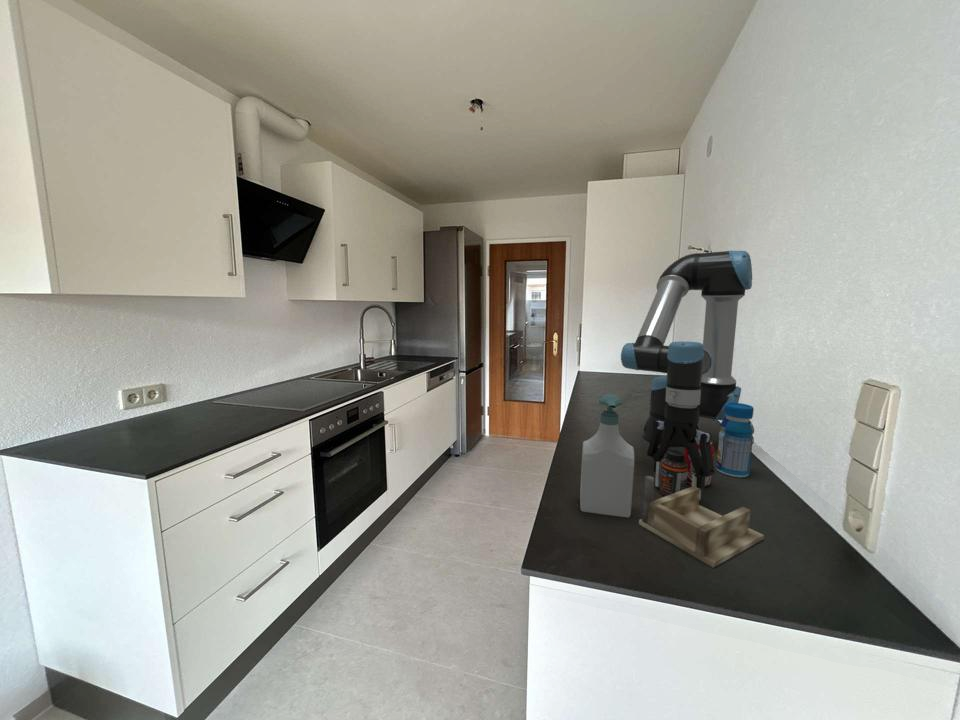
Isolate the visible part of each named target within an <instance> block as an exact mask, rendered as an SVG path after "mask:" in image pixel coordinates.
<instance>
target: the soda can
mask: <svg viewBox="0 0 960 720" xmlns="http://www.w3.org/2000/svg"><path fill="white" fill-rule="evenodd" d="M695 439H696V442H697V448H698V451H699V453H700V456H701V452H700V446H699V442H700V441H699V440H698V436H696V437H695ZM689 443H691V442H689ZM710 444H711V451H712V457H713V463H714V461H715V460H714V459H715V448H714V445H713V441H712V440H711V442H710ZM683 453H684V454H685V458H684V460H685V461H686V462H687V464H688V472H687V481H686V484H687V483H688V484H689V485H691V486H692V475H694V474H696V473H695V470H694V468H693V465H692V462H691V460H690V457H689V454H688V451H687V449H686V448H685V447H684V449H683ZM712 476H713V475H711V476H708V477H705V487H707V486H709V485H711V483H712Z"/></svg>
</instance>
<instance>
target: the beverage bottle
mask: <svg viewBox="0 0 960 720" xmlns="http://www.w3.org/2000/svg"><path fill="white" fill-rule="evenodd" d="M754 412H755V411H754V406H752V405H750V404H746V403H742V402H738V403H726V405H725V412H724V413H725V415H726V416H727V417H726V418H724V420H721V422H720V424H719V428H720V430H719V432H718V435H717V436H718V447H717V457H716V463H715V468H716V470H717V471H718V473H721V474H723V475H726V476H730V477H733V478H747V477H748V476H749V475H750V466H751V458H752V450H753V444H754V441H755V438H754V436H753V434H754V433H755V428H754V424H753V423H752V421H751V420H753V417H754Z"/></svg>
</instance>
